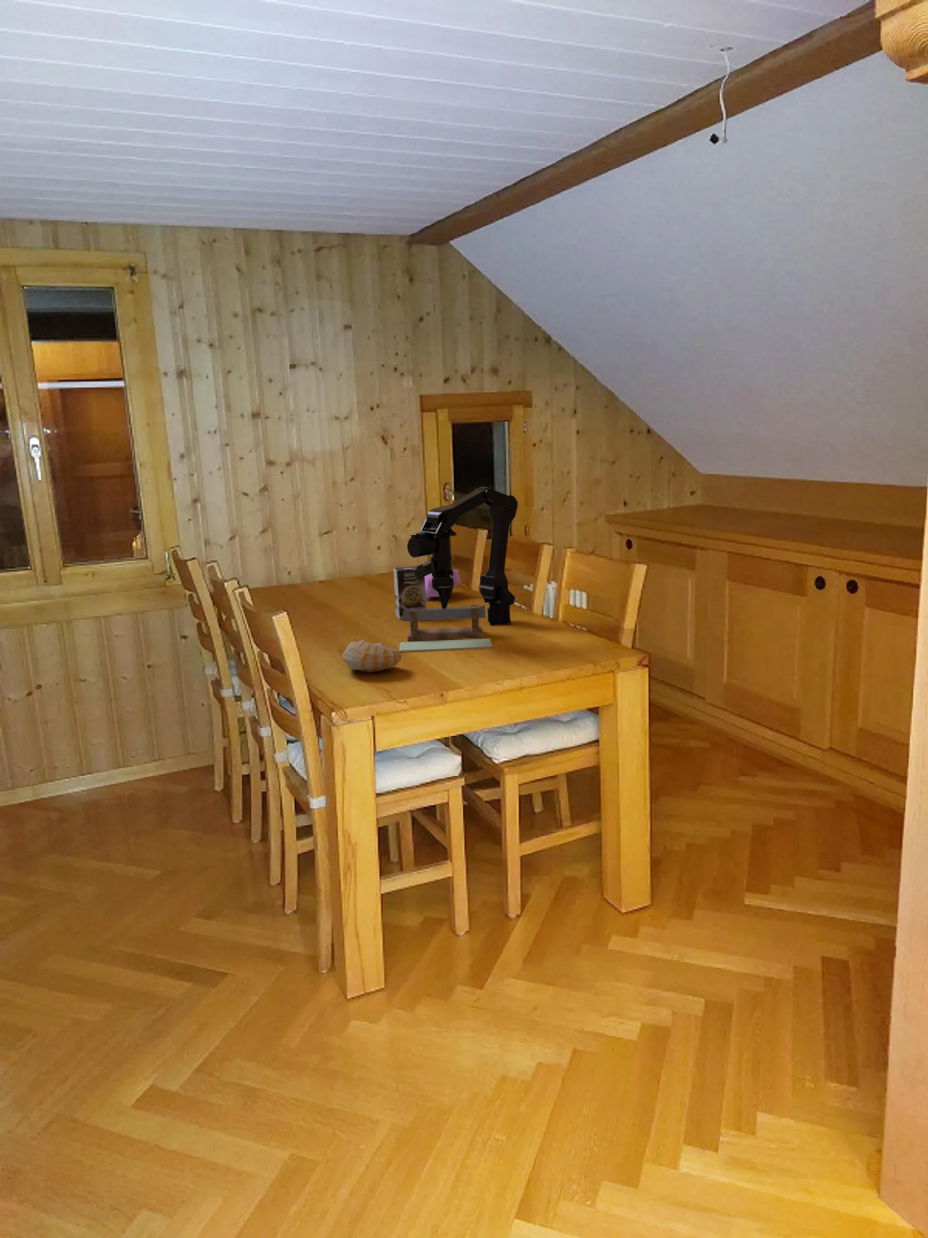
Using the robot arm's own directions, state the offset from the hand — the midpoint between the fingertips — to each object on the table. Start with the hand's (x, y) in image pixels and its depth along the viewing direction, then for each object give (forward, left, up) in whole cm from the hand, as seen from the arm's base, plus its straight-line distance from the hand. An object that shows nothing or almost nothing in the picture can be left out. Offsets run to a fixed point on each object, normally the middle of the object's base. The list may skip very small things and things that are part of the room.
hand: (444, 605), depth 274 cm
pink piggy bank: (+3, -56, -10) cm, 57 cm away
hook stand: (0, 0, -9) cm, 9 cm away
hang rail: (0, 0, -4) cm, 4 cm away
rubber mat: (0, +11, -9) cm, 15 cm away
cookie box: (+11, -28, -10) cm, 32 cm away
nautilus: (+20, +30, -10) cm, 37 cm away
